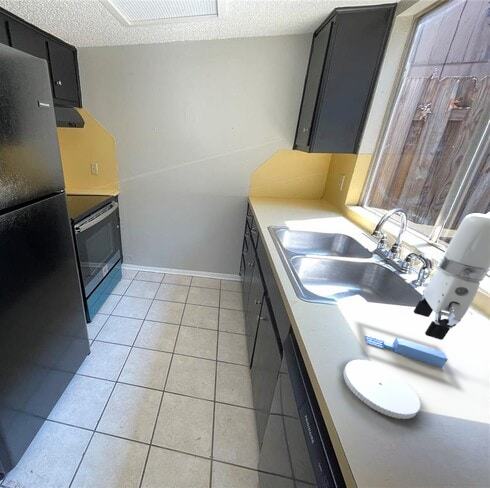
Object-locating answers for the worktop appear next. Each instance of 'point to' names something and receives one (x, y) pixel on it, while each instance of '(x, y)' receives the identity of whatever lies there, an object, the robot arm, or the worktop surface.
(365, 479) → the worktop surface
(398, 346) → the blue brush
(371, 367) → the plastic lid
